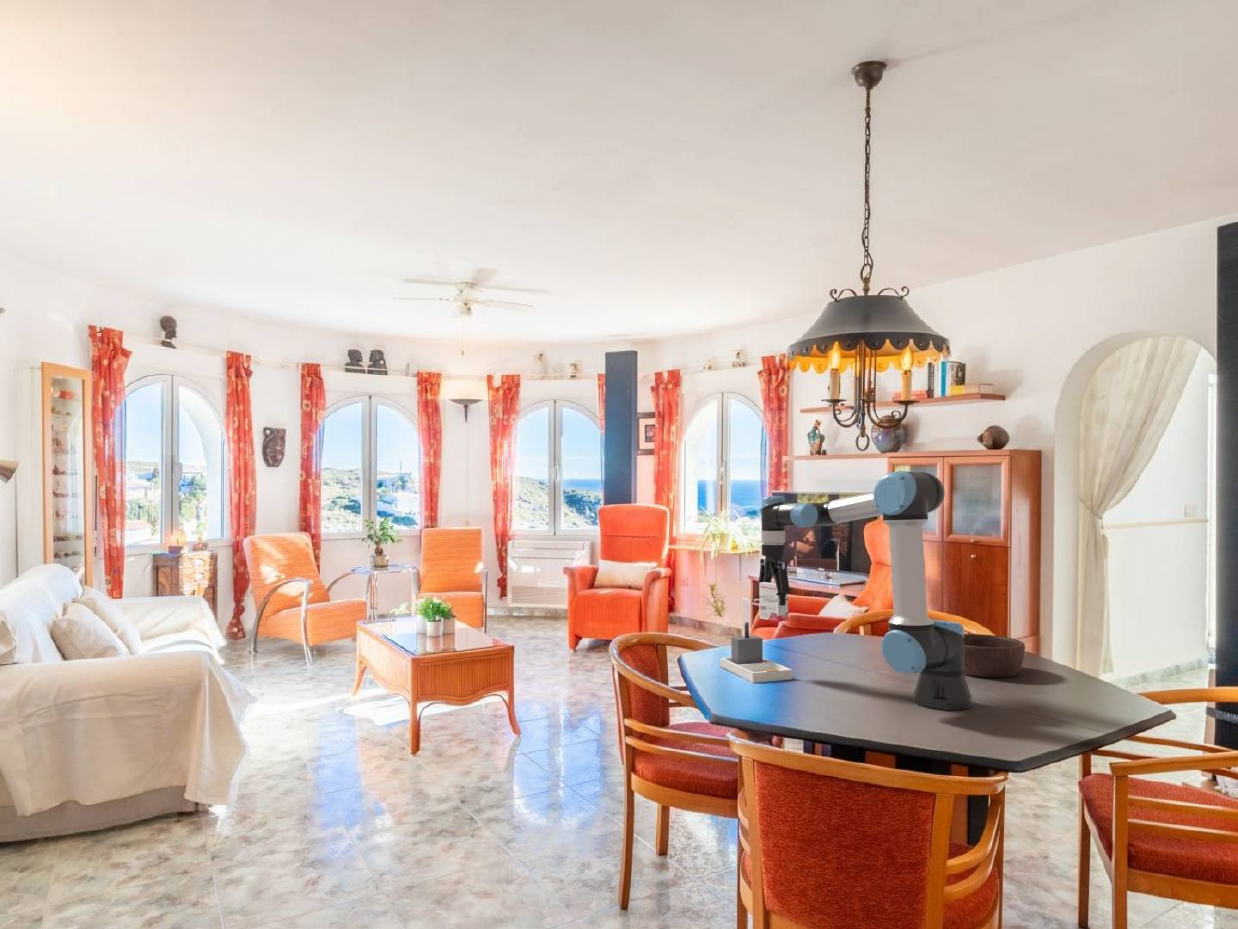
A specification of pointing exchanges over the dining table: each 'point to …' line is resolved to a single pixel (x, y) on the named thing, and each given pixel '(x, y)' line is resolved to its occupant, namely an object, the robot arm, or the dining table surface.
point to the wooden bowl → (992, 656)
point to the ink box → (770, 602)
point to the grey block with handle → (746, 648)
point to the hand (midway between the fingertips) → (773, 613)
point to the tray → (757, 670)
